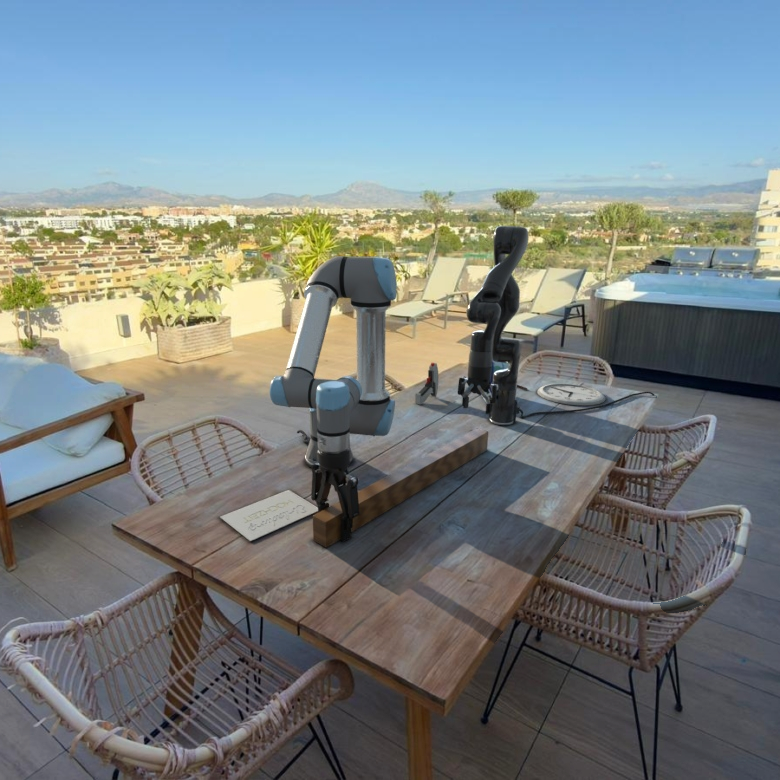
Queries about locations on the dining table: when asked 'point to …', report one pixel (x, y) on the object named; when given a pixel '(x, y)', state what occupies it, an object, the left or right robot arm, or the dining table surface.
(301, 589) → the dining table surface
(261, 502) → the invitation card
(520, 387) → the ruler
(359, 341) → the left robot arm
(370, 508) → the bar
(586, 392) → the wall clock
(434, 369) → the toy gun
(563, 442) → the dining table surface
